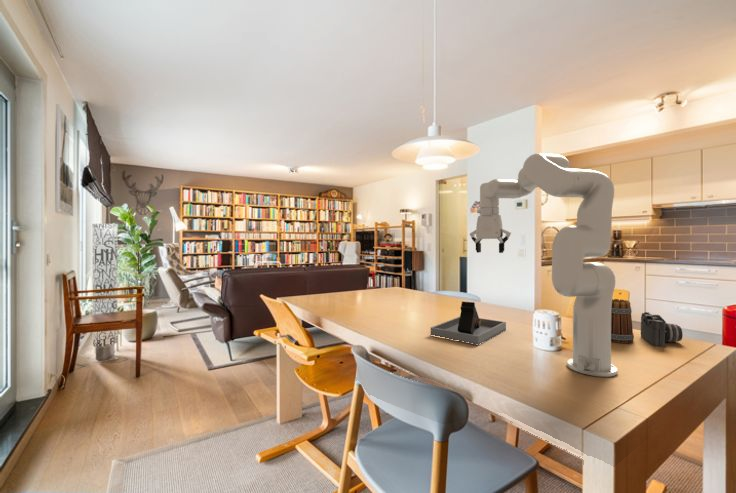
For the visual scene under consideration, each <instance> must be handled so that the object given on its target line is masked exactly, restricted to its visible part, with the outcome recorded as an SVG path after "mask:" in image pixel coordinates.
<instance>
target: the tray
mask: <svg viewBox="0 0 736 493" xmlns="http://www.w3.org/2000/svg"><path fill="white" fill-rule="evenodd" d="M459 319H460V316H458V317H455V318H452V319H450V320H446V321H445V322H442V323H439V324H436V325H433V326H432V327H430V336H431V335H435V336H440V337H445V338H449V339H453V340H459V341H464V342H469V343H473V344H480V343H482V342H484V341H486V340H488V339H490V338H491V339H493V338H495V337H496V335H497V336H499V335H500V334H502V333H504V332H505V331H507V322H506V321H501V320H494V319H486V318H480V317H479V319H480V325H479V327H474V332H473V335H471V334H466V333H460V332H458V330H457V329H458V324H459ZM503 331H504V332H503ZM501 332H502V333H501ZM494 336H495V337H494ZM492 337H493V338H492ZM491 339H490V340H491ZM488 341H489V340H488ZM486 342H487V341H486ZM484 343H485V342H484Z"/></svg>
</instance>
